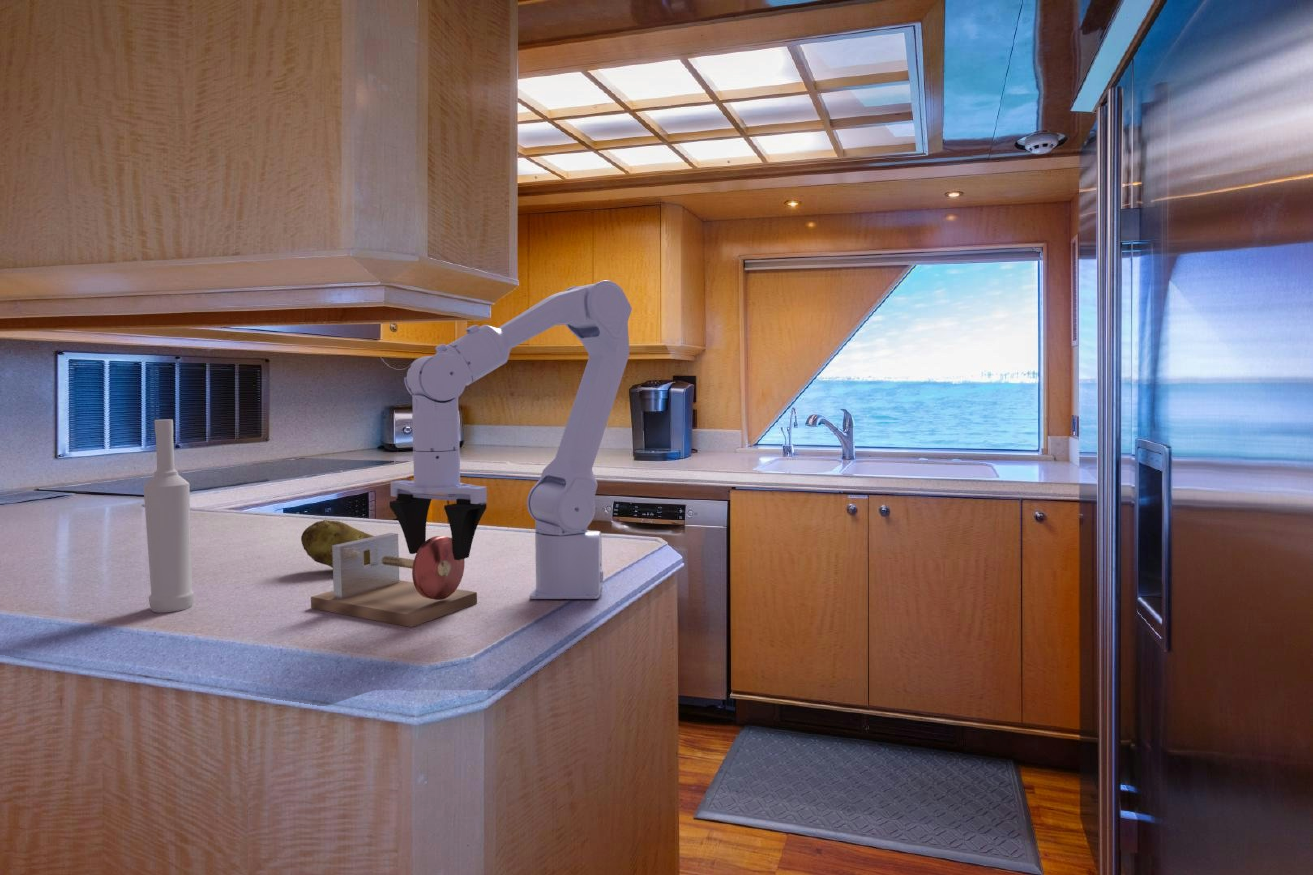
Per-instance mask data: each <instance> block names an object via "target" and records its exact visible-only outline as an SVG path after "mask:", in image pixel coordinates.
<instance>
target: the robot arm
mask: <svg viewBox="0 0 1313 875" xmlns="http://www.w3.org/2000/svg"><path fill="white" fill-rule="evenodd" d="M632 310H633V308H632V306H631V303H630V302H629V299H628V297H627V295H626V294H625V292H624V289H623V288H622V287H621V286H620V285H619V284H617V282H614V281H612V280H601V281H598V282H596V283H591V284H586V285H581V286H576V285H575V286H570V287H567V289H565V290H564V291H560V292H557V293H553V294H552V295H550V296H548V297H546V298H543V299H542V300H540V301H539V302H538V303H536V304H534V305H533V306H531V307H530V308H528V309H526V310H525V311H523V312H521V313H520V314H518V315H516V316H515V317H513V318H512V319H510V320H508V321H507V322H505V323H504V324H501V325H500V326H499V327H495V326H491V325H488V324H483V325H481V326H479V325H478V324H475V325H473V324H472V325H470V326H469V327H467V328H466V329H465V332H466V333H467V334H464V335H463V336H461V337H459V338H457V339H456V340H454V341H452V342H450V343H448V344H445V343H441V344H439V345H437V346H436V347H434V348H435V351H436V353H435V354H434V355H428V356H427V355H426V356H421V357H418V358H417V359H415V360H414V361H413V362H412V363H411V364H410V366H409V367H408V370H407V373H406V377H405V376H404V378H403V381H404V385H405V388H406V390H407V392H408V393H409V394H410V396H411V397H412V415H411V416H412V417H411V418H412V453H413V460H412V462H413V480H395V481H390V497H393V498H395V500H391V501H389V508H390V509H391V511H392V512H393V513H394V516H395V517H396V519H397V521H398V522H399V525H400V528H401V530H402V532H403V536H404V540H405V542H406V547H407V549H408V553H409V555H410V554H411V555H416V553H417V552H418V550H419V548H420V547H421V545H422V544H423V543H424V542H425V541H427V539H426V538H427V537H426V536H427V533H426V532H427V521H428V520H427V519H428V514H429V509H430V505H431V502H432V500H440V501H451V502H455V503H451V504H445V505H443V506H444V508H443V510H444V511H445V514H446V516H447V520H448V523H449V528H450V535H451V538H452V550H453V556H454V560H461V559H464V560H465V559H468V558H470V553H471V549H472V545H473V544H472V543H473V541H474V537H475V533H476V530H477V529H478V528H477V527H478V525H479V522H480V520H481V518H482V516H484V513H485V511H486V510H487V503H488V499H487V498H488V497H487V496H488V494H487V492H488V489H487V486H482V485H475V484H468V483H464V482H461V460H460V459H461V458H460V457H461V456H460V453H461V452H460V414H459V397H460V396H461V395H462V394H463V392H464V391H465V388H466V386H469V385H471V384H473V383H475V382H476V381H478V380H479V379H481V378H483V377H485V376H486V375H487V374H490V373H492V372H493V371H495V370H496V369H498V368H499V367H501V366H503V365H505V364H507V363H508V360H509V358H510V352H511V351H512V349H514V348H516V347H517V346H519V345H521V344H523V343H525V342H527V341H528V340H530V339H532V338H534V337H535V336H538V335H540V334H542V333H544V332H545V331H548V330H549V329H551V328H553V327H555V326H566V328H568V330H569V331H570V332H571V333H572V334H573V335H574V336H575V337H576V338H577V339H578V340H579V342H581V343H582V345H583V347H584V348H585V351H586V353H587V354H588V359H587V363H586V366H585V369H584V372H583V374H582V378H581V381H580V384H579V386H578V390H577V392H576V395H575V397H574V401H573V405H572V406H571V407H572V408H571V410H570V412H569V416H568V420H567V422H566V425H565V428H564V430H563V431H564V432H563V434H562V437H561V439H560V443H559V446H558V449H557V452H556V455H555V457H554V459H553V460H552V461H550V463H549V464H547V465H546V466H545V467H544V469H543V470H542V471H541V472H542V473H541V475H540V478H539V479H538V480H537V482H536V483H535V484H534V485H533V486H532V487H531V489H530V491H529V492H528V495H527V498H526V507H527V512H528V514H529V515H530V517H531V518H532V519H533V520H535V527H534V530H535V532H534V533H535V534H534V536H535V539H534V540H535V548H534V549H535V585H534V587H533V589H532V590H531V593H530V594H529V599H531V600H564V599H565V600H597V599H599V598H600V594H601V591H602V588H603V583H604V570H603V557H602V555H603V552H602V548H603V547H602V546H603V545H602V544H603V542H602V532H601V531H599V530H589V529H588V526H589V525H590V524H591V523H592V522H593V520H594V517H595V514H596V508H597V507H596V505H597V504H596V494H597V489H598V486H599V484H598V481H597V479H596V477H595V473H594V472H593V467H594V464H595V462H596V461H595V460H596V458H597V455H598V452H599V449H600V446H601V442H602V439H603V437H604V434H605V430H606V427H607V424H608V421H609V418H610V416H611V412H612V410H613V406H614V403H615V400H616V396H617V394H618V392H619V387H620V384H621V382H622V379H623V375H624V372H625V370H626V368H627V367H626V366H627V363H628V360H629V358H630V336H629V319H630V316H631V313H632Z"/></svg>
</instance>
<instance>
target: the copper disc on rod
mask: <svg viewBox="0 0 1313 875" xmlns="http://www.w3.org/2000/svg"><path fill="white" fill-rule="evenodd" d="M382 563H383V564H384V565H390V566H397V567H399V568H404V569H412V570H411V571H412V572H411V574H412V575H411V577H412V582H413V583H414V586H415V588H416V590H417V591H418V593H419V594H420V595H421V596H423V597H425V598H429V599H435V600H442V599H445V598H447V597H449V596H450V595H452V594H453V593H454V592H455V590H456V589H458V588H459V587H460V584H461V582H462V580H463V576H464V571H465V563H466V562H465V559H461V560H454V556H453V550H452V537H448V536H442V535H439V536H438V535H435V536H432V537H429V538H428V539H426V541H425V542H424V543H423V544H422V545H421V547H420V548H419V550H418V552H417V553H415V556H414V559H413V558H405V557H400V556H399V557H392V556H384V557H383V558H382Z"/></svg>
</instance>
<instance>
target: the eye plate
mask: <svg viewBox="0 0 1313 875" xmlns="http://www.w3.org/2000/svg"><path fill="white" fill-rule="evenodd" d="M373 536H374V537H369V538H364V539H360V540H355V541H351V542H346V543H342V544H337V545H333V546H332V553H333V568H332V576H333V577H332V578H333V579H332V580H333V591H334V598H336V599H341V600H342V599H346V598H349V597H352V596H356V595H359V594H362V593H366V592H369V591H373V590H376V589H379V588H383V587H386V586H390V585H393V584H396V583H399V580H400V567H397V566H390V565H384V564H383V563H382V558H383V557H384V556H392V557H399V558H400V552H399V546H400V545H399V533H397V532H396V533H395V532H388V533H383V534H379V535H373ZM366 550H370V564H368V565H364V551H366Z"/></svg>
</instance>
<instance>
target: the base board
mask: <svg viewBox="0 0 1313 875" xmlns="http://www.w3.org/2000/svg"><path fill="white" fill-rule="evenodd" d="M476 604H478V592H477V591H471V590H465V589H458V588H457V589H456V590H455V592H454V593H453V594H452V595H450V596H449V597H447V598H445V599H442V600H435V599H429V598H425V597H423V596H421V595H420V594H419V593H418V591H417V590H416V588H415V586H414V583H413V581H409V580H408V581H406V580H400V579H399V583H396V584H393V585H390V586H386V587H383V588H379V589H376V590H373V591H369V592H366V593H362V594H359V595H356V596H352V597H349V598H346V599H342V600H341V599H336V598H334V590H330V591H327V592H322V593H320V594H317V595H313V596H310V608H311V609H313V610H318V611H319V610H320V611H325V612H329V613H330V612H331V613H335V614H340V615H347V616H350V617H355V618H362V619H365V620H372V621H376V622H382V623H388V624H393V625H398V626H402V627H409V628H412V627H413V628H414V627H416V626H418V625H419V626H420V625H421V624H424V623H427V622H430V621H432V620H435V619H437V618H440V617H443V616H446V615H448V614H451V613H455V612H458V611H460V610H462V609H465V608H468V607H470V606H473V605H476Z"/></svg>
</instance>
